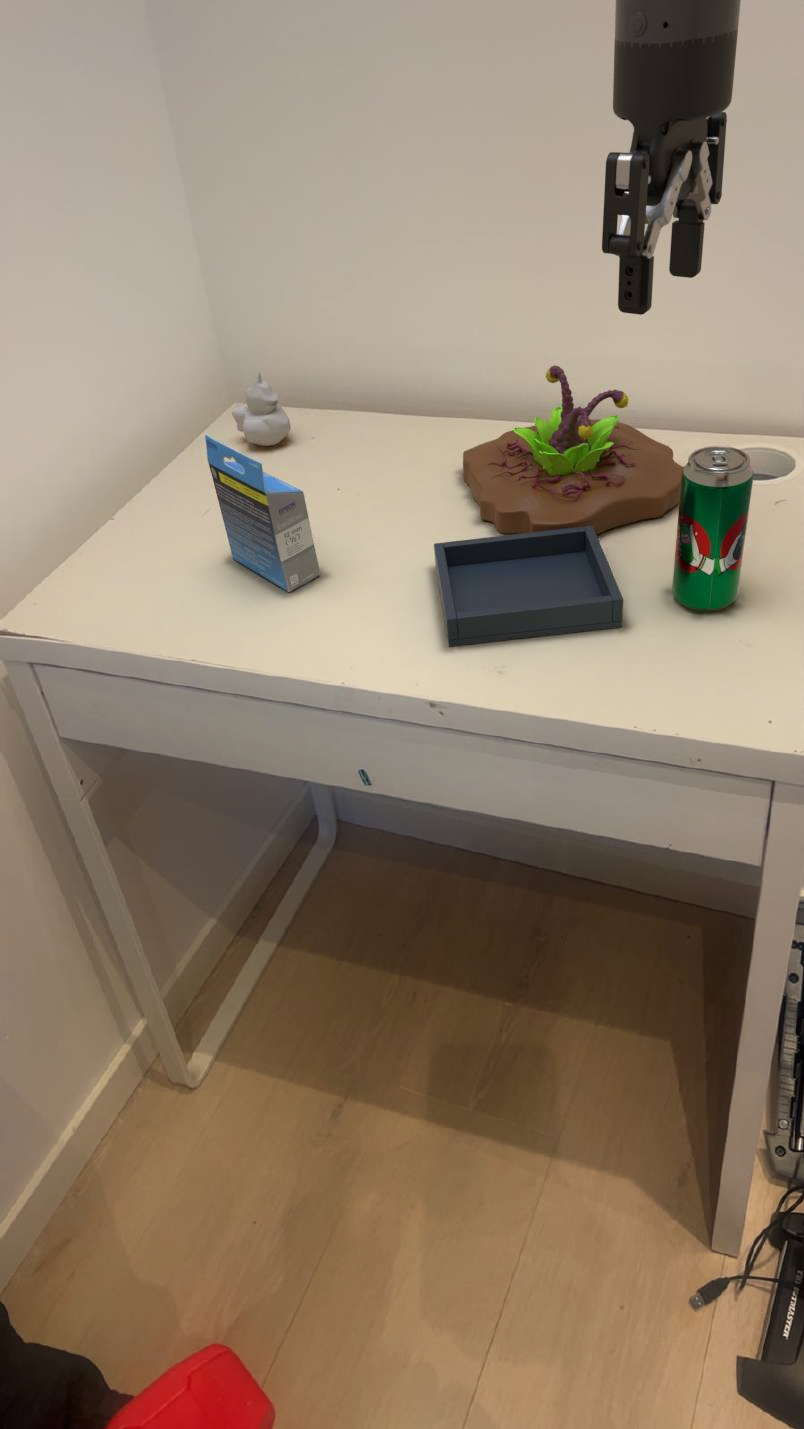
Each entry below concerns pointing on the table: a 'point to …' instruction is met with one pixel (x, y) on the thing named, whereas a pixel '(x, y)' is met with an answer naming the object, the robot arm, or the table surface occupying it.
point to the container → (526, 586)
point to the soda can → (711, 527)
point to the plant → (572, 471)
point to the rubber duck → (262, 415)
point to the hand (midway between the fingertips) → (660, 293)
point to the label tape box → (263, 518)
